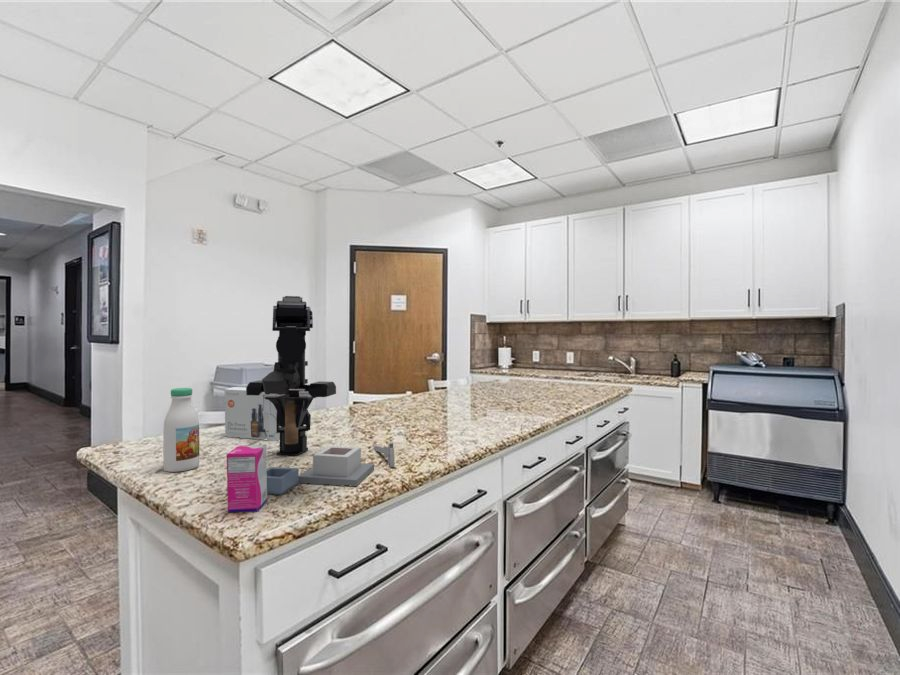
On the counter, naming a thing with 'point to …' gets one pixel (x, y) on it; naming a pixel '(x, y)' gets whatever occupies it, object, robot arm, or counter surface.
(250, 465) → the supplement box
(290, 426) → the brown wooden cylinder
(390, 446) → the caliper
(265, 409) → the skincare box
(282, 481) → the blue square tray
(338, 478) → the grey square holder
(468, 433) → the counter surface
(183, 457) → the milk bottle
